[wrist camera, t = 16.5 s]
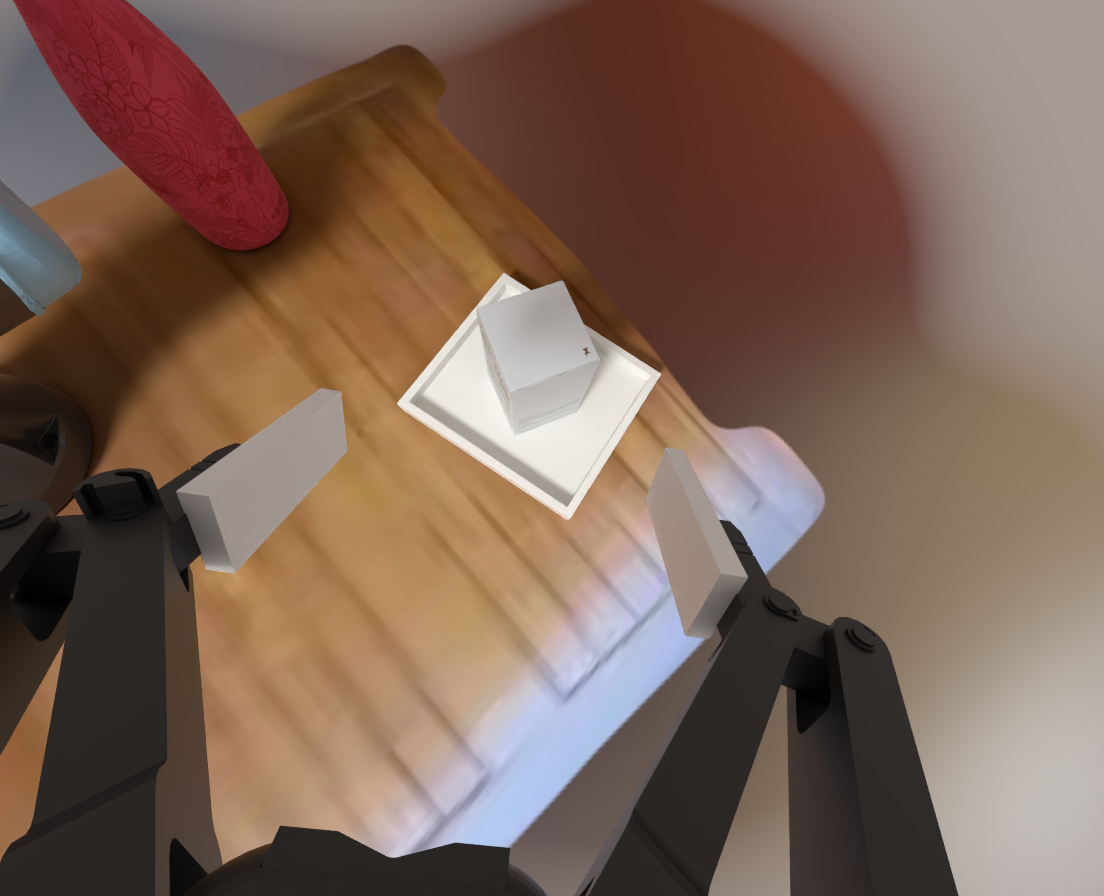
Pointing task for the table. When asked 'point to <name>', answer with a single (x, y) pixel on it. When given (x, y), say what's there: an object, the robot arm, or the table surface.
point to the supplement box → (537, 355)
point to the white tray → (549, 450)
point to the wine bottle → (159, 117)
